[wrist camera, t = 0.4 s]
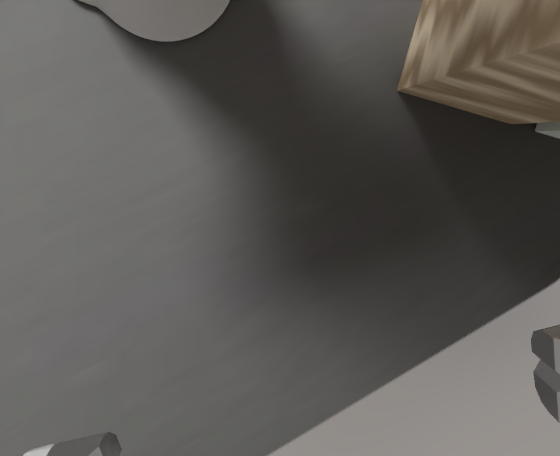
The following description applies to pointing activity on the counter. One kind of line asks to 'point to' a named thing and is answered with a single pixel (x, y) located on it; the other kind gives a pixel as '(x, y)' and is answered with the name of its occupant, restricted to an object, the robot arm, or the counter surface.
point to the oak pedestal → (488, 58)
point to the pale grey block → (549, 128)
